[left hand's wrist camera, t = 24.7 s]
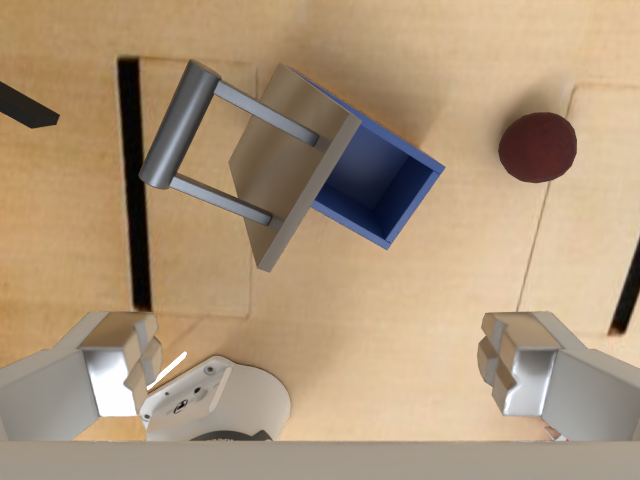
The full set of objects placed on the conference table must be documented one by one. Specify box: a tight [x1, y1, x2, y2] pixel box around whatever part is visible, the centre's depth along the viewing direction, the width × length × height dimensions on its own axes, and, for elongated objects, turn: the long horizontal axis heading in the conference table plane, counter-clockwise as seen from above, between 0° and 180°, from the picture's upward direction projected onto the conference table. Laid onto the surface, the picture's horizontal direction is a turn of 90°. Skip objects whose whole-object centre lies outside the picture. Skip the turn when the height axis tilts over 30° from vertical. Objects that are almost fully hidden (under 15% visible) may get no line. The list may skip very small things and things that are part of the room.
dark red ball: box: [498, 112, 577, 183], centre depth 45 cm, size 7×8×7 cm
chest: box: [287, 66, 445, 250], centre depth 44 cm, size 17×10×11 cm, turn 59°
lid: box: [139, 59, 362, 272], centre depth 28 cm, size 18×10×8 cm
